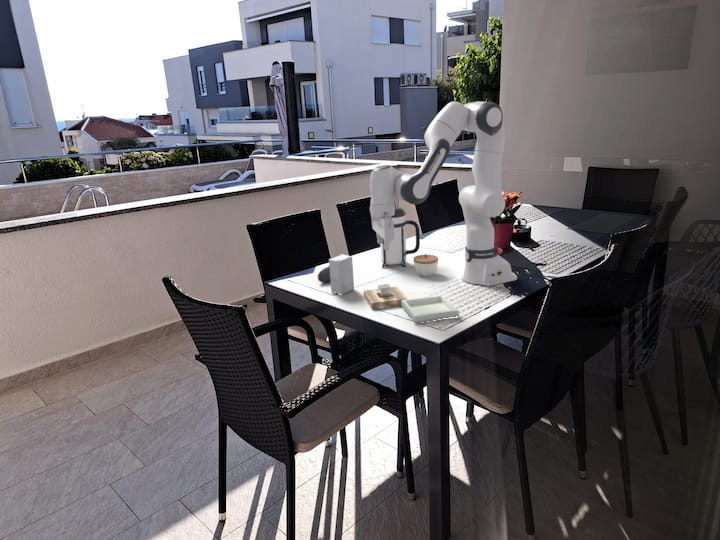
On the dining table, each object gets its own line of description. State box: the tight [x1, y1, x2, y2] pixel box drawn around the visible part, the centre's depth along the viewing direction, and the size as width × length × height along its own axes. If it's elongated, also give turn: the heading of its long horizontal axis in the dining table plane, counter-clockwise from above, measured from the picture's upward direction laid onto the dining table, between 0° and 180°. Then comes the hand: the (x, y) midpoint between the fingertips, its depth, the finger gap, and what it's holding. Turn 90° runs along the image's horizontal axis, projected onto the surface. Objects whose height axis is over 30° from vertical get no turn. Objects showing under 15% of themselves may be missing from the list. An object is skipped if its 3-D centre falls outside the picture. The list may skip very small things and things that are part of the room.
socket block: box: [363, 286, 409, 310], centre depth 191 cm, size 14×14×2 cm
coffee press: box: [379, 206, 421, 269], centre depth 231 cm, size 17×16×30 cm
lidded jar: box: [413, 253, 439, 278], centre depth 217 cm, size 11×11×9 cm
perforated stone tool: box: [317, 265, 331, 283], centre depth 217 cm, size 15×5×7 cm, turn 127°
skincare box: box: [328, 253, 355, 295], centre depth 201 cm, size 8×6×15 cm
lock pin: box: [377, 283, 392, 298], centre depth 190 cm, size 4×4×6 cm
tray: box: [401, 294, 460, 324], centre depth 177 cm, size 16×16×3 cm
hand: (383, 246), depth 185 cm, fingers open, 8 cm apart
